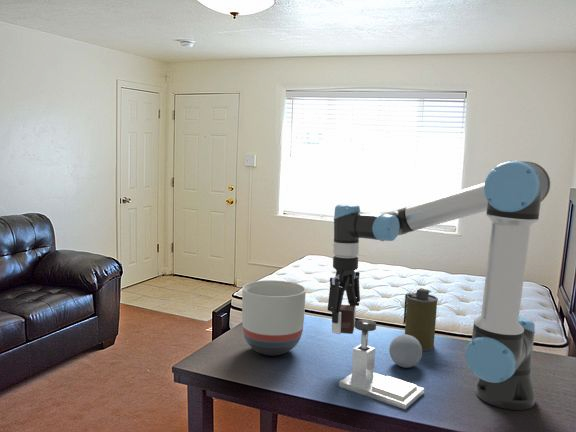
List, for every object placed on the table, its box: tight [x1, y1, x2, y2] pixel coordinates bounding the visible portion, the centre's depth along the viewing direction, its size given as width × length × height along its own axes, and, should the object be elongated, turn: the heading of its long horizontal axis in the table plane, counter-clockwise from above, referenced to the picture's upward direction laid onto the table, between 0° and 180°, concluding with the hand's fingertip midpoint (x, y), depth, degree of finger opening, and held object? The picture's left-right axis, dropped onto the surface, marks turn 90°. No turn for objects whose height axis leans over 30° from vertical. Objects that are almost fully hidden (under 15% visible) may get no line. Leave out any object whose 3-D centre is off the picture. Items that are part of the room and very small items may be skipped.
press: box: [338, 343, 425, 410], centre depth 142 cm, size 20×12×10 cm, turn 53°
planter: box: [241, 279, 307, 356], centre depth 166 cm, size 20×20×21 cm
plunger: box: [354, 318, 377, 351], centre depth 145 cm, size 6×6×13 cm
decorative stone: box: [388, 333, 423, 369], centre depth 159 cm, size 10×10×10 cm
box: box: [340, 304, 355, 335], centre depth 155 cm, size 6×6×7 cm
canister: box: [403, 287, 439, 352], centre depth 177 cm, size 11×10×20 cm
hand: (343, 329), depth 156 cm, fingers closed on box, 8 cm apart
